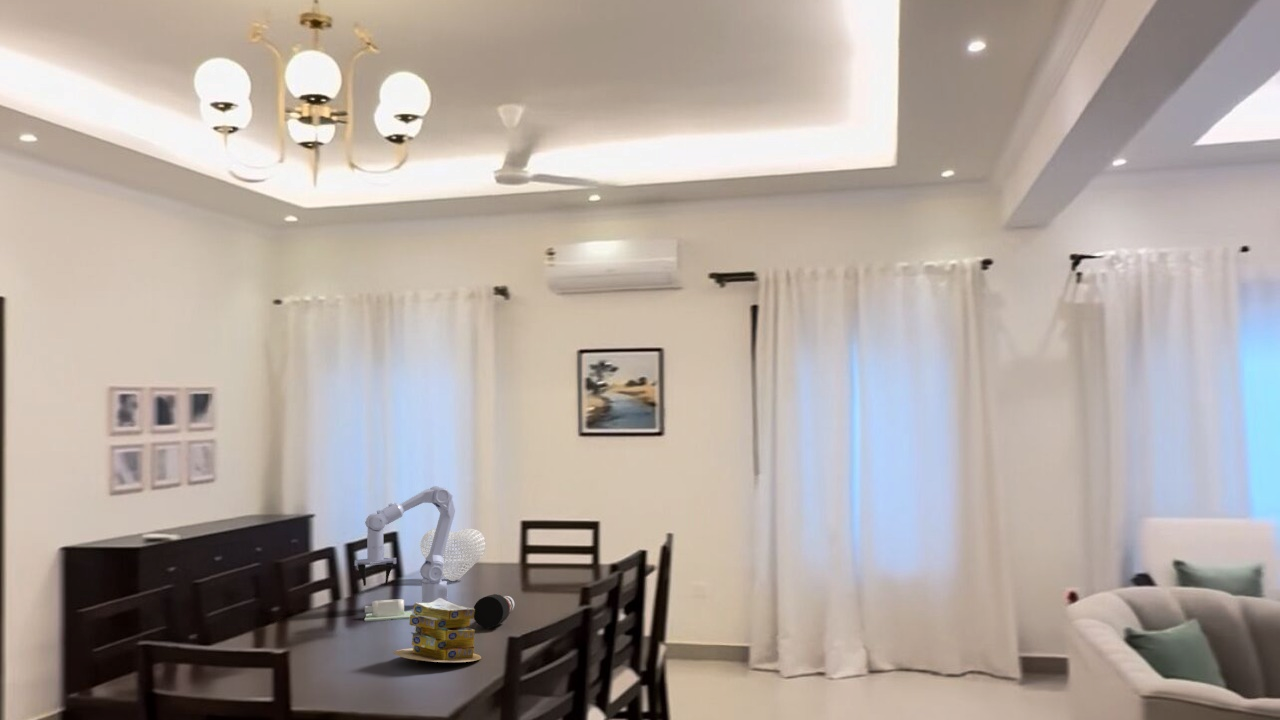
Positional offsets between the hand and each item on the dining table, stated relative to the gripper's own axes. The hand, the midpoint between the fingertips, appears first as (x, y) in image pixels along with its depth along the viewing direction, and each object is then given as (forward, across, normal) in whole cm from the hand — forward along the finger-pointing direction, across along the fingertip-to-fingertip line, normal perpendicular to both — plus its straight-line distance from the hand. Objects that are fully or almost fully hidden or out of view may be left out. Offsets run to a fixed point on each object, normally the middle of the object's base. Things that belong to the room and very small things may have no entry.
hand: (375, 584), depth 352 cm
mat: (+10, -5, +10) cm, 15 cm away
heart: (+10, -29, -59) cm, 67 cm away
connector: (+9, -4, +10) cm, 14 cm away
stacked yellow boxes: (+10, -22, +79) cm, 82 cm away
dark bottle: (+10, -43, +26) cm, 51 cm away
